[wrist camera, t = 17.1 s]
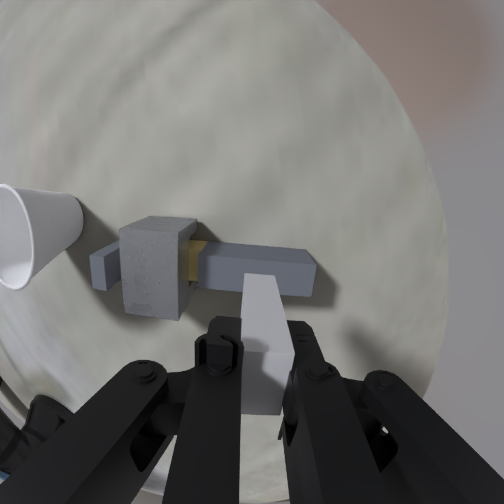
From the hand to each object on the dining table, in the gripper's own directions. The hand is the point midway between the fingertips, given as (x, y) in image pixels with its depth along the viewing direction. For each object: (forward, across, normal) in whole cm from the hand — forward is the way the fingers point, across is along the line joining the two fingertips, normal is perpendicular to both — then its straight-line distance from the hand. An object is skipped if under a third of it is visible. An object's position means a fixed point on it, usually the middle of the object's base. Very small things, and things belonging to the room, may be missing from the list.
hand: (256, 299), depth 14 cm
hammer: (+14, -4, -2) cm, 15 cm away
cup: (+15, -22, +1) cm, 27 cm away
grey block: (+14, -8, -2) cm, 16 cm away
